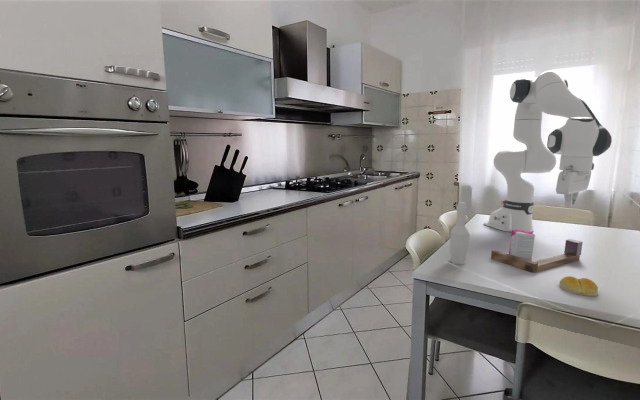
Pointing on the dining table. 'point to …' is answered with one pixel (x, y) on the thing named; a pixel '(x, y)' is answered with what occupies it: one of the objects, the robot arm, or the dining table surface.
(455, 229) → the faceted bottle
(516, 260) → the l-shaped wooden bracket
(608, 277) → the dining table surface
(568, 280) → the bread roll
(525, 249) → the supplement box
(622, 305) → the dining table surface
